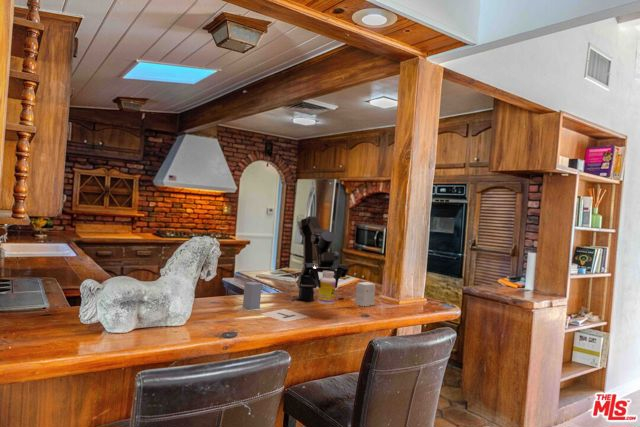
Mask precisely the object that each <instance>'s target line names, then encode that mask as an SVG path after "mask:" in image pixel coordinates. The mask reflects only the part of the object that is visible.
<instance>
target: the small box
mask: <svg viewBox="0 0 640 427" xmlns="http://www.w3.org/2000/svg"><path fill="white" fill-rule="evenodd" d="M355 289H356V290H355V299H354V300H355V301H354V304H357V305H356V306H359V305H360V306H359V307H362V306H363V308H364V306H365V307H370V305H371V306H374V305H375V296H376V294H375V293H376V283H373V282H371V281H370V282H369V281H362V282H357V283H356V288H355Z"/></svg>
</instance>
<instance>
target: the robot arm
mask: <svg viewBox="0 0 640 427" xmlns="http://www.w3.org/2000/svg"><path fill="white" fill-rule="evenodd" d="M322 228H323V227H321V225H320V222H319V218H318V217H317V216H311V215H308V216H306V217H305V218H303V219H301V220H300V221H299V224H298V230H299V234H300V235H301V237H302V239H303V267H302V269H301V270H300V273H299V276H298V278H297V281H296V283H297V284H296V286H297V287H298V288H299V290H298V297H297V298H296V300H299V301H302V302H307V303H308V302H313V301H315V298H314V293H315V292H314V291H315V290H314V289H317V288H318V289H319V288H320V277H319V273H323V271H333V272H334V276H333V278H335V280H336V284H335V289H338V284H339V281H340V280H339V279H341V278H345V277H346V276H347V274H348V272H349V266H348V264H337V267H333V266H334V262H335V261H338V260H339V259H340V254H339V251H332V252H330V249H331V248H332V246H333V244H334V241H335V239H336V235H335V234H334V233H333V232H331V231H330V229H328V228H327V229H322ZM314 245H315V248H314V249H315V251H314V249H313V246H314ZM313 252H315V255H316V264H317V265H315V263H314V254H313Z"/></svg>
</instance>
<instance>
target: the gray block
mask: <svg viewBox="0 0 640 427" xmlns="http://www.w3.org/2000/svg"><path fill="white" fill-rule="evenodd" d="M262 285H263V284H262V283H260V282H257V281H249V282H247V281H246V282H244V287H243V297H242V298H243V300H242V301H243V302H242V308H243V309H246V310H250V311H253V310H258V309H260V308H261V295H262Z"/></svg>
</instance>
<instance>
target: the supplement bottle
mask: <svg viewBox="0 0 640 427" xmlns="http://www.w3.org/2000/svg"><path fill="white" fill-rule="evenodd" d="M321 273H322V276H321V277H319V280H320V288H319V287H318V294H317V303H319V304H321V305H326V306H327V305H328V306H329V305H333V304H334V303H335V295H336V294H335V292H336V288H335V284H336V280H335V278H333V277H334V272H333V271H323V272H321Z"/></svg>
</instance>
